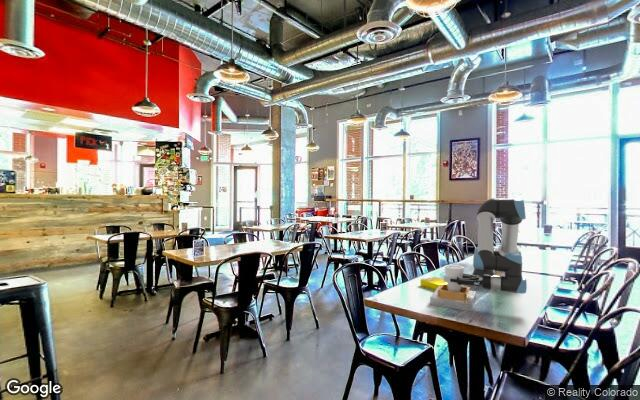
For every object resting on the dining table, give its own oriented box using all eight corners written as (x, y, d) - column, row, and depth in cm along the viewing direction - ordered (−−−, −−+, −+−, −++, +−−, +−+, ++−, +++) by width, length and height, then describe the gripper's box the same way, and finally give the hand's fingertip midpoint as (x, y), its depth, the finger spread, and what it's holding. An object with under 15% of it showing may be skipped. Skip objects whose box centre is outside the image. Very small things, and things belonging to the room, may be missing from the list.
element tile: (438, 292, 203) (438, 284, 203) (419, 286, 216) (419, 278, 216) (454, 288, 211) (455, 281, 211) (435, 283, 224) (435, 276, 224)
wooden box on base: (438, 293, 200) (438, 281, 200) (476, 298, 191) (476, 285, 190) (430, 304, 179) (430, 291, 179) (471, 311, 170) (472, 297, 170)
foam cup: (449, 287, 191) (449, 264, 191) (466, 290, 185) (466, 266, 185) (441, 290, 185) (442, 266, 185) (458, 294, 178) (459, 269, 178)
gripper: (490, 295, 166) (441, 288, 177) (492, 284, 186) (448, 279, 197) (490, 279, 166) (442, 274, 177) (492, 270, 185) (448, 266, 196)
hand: (445, 276), depth 187 cm, fingers closed on foam cup, 9 cm apart
